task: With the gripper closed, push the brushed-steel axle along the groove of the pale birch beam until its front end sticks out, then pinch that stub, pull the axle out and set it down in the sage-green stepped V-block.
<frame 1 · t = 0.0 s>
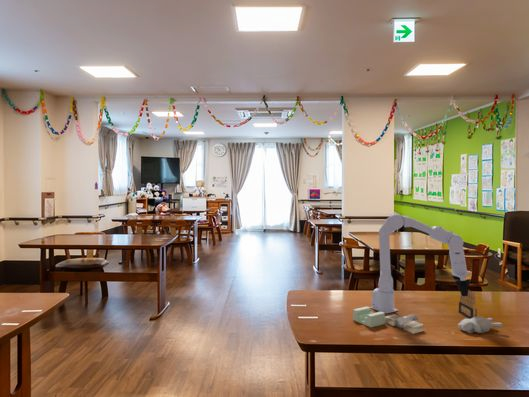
hand: (463, 293, 166), 11 cm above the table, tool pointing down, fingers open, 7 cm apart
bunny figurine: (478, 331, 152), on the table
axle: (406, 326, 157), on the table
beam: (403, 326, 156), on the table
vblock: (368, 321, 161), on the table
ammunition clip: (467, 316, 168), on the table
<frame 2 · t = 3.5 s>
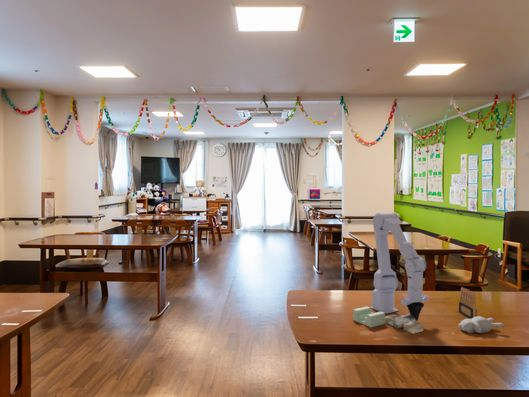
hand: (414, 320, 159), 1 cm above the table, tool pointing down, fingers closed
axle: (405, 326, 156), on the table, tilted 18°, touching gripper
everything else where it was.
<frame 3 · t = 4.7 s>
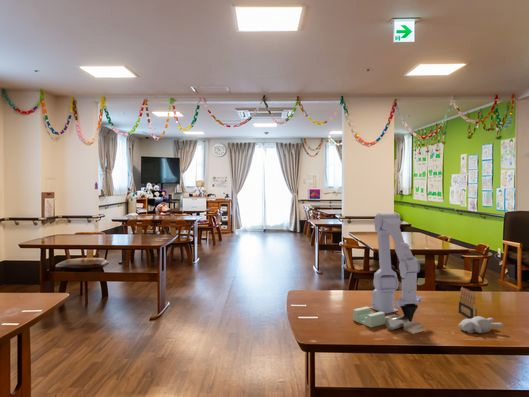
hand: (408, 321, 157), 1 cm above the table, tool pointing down, fingers closed
axle: (398, 327, 154), on the table, tilted 18°, touching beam, gripper
everything else where it was.
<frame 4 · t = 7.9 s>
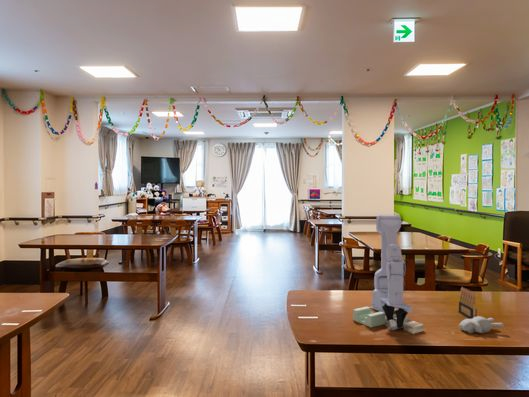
hand: (394, 325, 153), 1 cm above the table, tool pointing down, fingers closed on axle, 4 cm apart
axle: (398, 328, 154), on the table, touching gripper
everything else where it was.
when the fingers open (6 cm above the table, at t = 12.0 s): axle drops 2 cm, resting on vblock.
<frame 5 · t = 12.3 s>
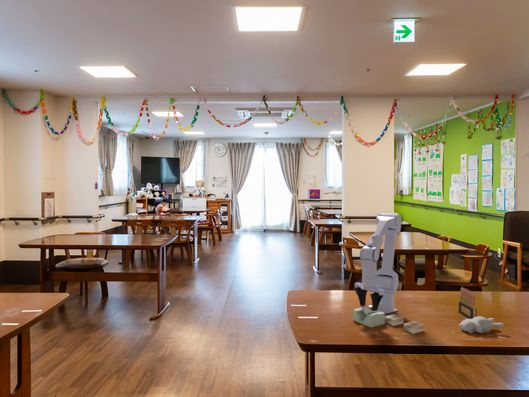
hand: (368, 308, 161), 6 cm above the table, tool pointing down, fingers open, 6 cm apart
axle: (372, 315, 162), point 2 cm above the table, tilted 6°, touching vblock
everything else where it was.
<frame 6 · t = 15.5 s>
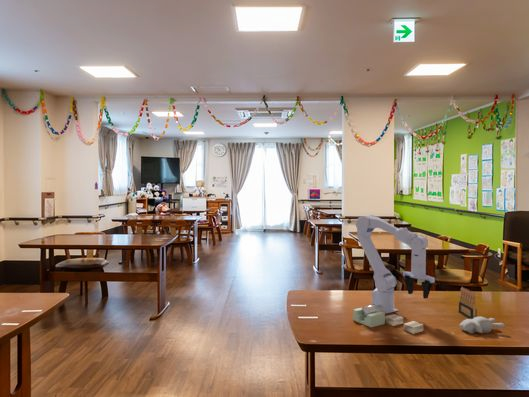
hand: (417, 295, 166), 9 cm above the table, tool pointing down, fingers open, 7 cm apart
nothing on the table moved.
at the end: axle 2.1 cm off-centre on the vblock, point 2.5 cm above the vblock's base; axle tilted 6°; the gripper is holding nothing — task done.
